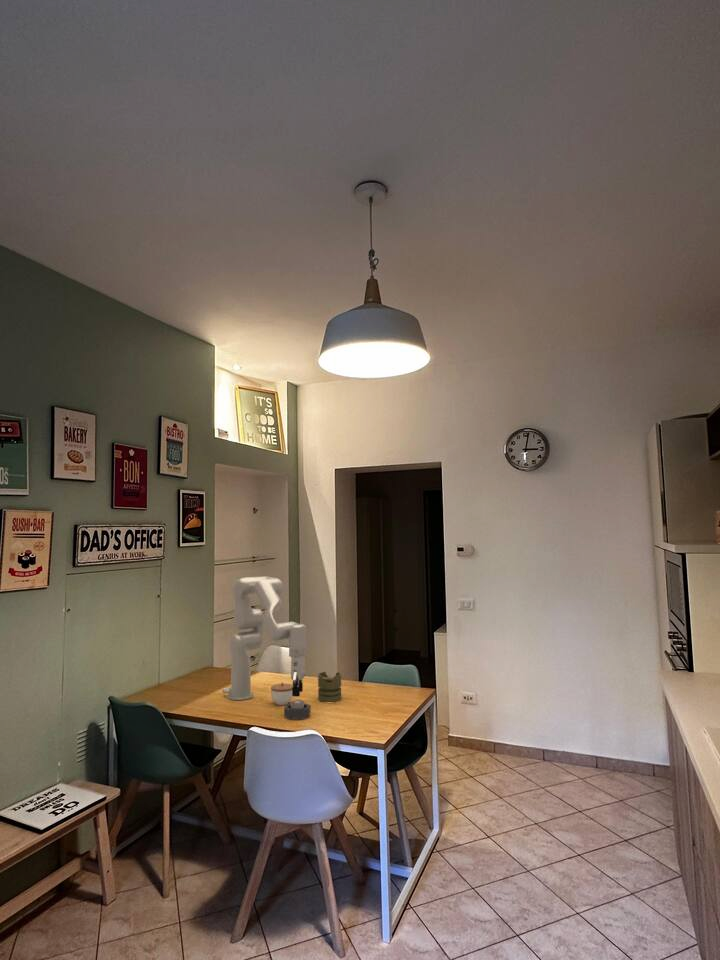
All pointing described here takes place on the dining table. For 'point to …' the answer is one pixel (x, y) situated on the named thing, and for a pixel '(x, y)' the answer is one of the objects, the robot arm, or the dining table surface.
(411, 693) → the dining table surface
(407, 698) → the dining table surface
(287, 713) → the dark grey round ring
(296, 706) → the cap
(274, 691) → the lidded jar
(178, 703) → the dining table surface
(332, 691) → the olive green vest
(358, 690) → the dining table surface
